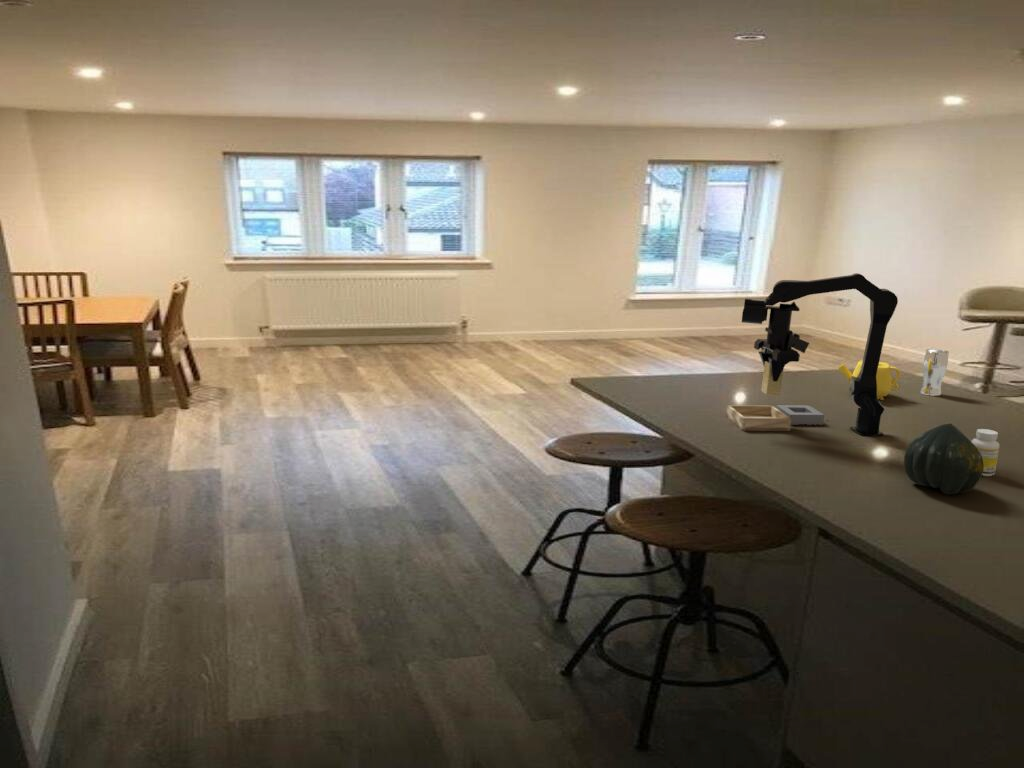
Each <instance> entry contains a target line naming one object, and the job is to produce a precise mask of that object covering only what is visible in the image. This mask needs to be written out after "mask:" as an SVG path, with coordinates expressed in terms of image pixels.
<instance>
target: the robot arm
mask: <svg viewBox="0 0 1024 768" xmlns="http://www.w3.org/2000/svg"><path fill="white" fill-rule="evenodd" d="M849 290H856V291H858V292H859V293H861V294H862V295H863V296H865V297H866V298H867V299H869V314H870V317H869V318H870V325H869V328H868V334H867V338H866V344H865V348H864V351H863V352H864V353H863V358H862V361H863V362H862V366H861V371H860V373H859V375H858V376H857V377H854V376H852V383H851V382H850V386H849V388H848V390H849V393H850V395H851V396H850V397H851V398H852V400H853V401H854V403H855V405H857V406H858V407H857V413H856V419H855V426H849V429H850V430H851V431H853V432H855V433H857V434H858V435H860V436H884V432H882V431H880V424H881V418H882V415H883V413H884V411H885V407H884V406H883V405H882V403H881V400H878V399H877V380H876V374H877V369H878V365H879V362H880V359H881V354H882V350H883V345H884V340H885V336H886V332H887V328H888V324H889V322H890V320H891V319H892V317H893V315H894V314H895V311H896V308H897V306H898V303H899V299H898V295H896V293H894V292H893V291H891V290H889V289H888V288H880V287H878V286H877V285H876V284H874V283H873V282H871V281H869V280H868V279H867V278H866V277H865V276H864V275H862V274H861V273H853V274H849V275H840V276H834V277H828V278H825V277H824V278H820V279H818V278H817V279H812V280H811V279H810V280H799V279H798V280H796V279H782V280H779V281H777V282H775V284H774V285H773V287H772V292H771V293H770V294H769V295H768V296H766V298H765V299H764V300H761V299H760V300H759V299H752V298H745V299H744V302H743V303H744V304H743V305H744V306H743V308H742V315H741V323H743V324H744V323H745V324H754V325H762V324H763V322H767V319H768V326H766V327H765V329H764V331H765V332H767V335H766V338H765V339H764V338H757V340H755V341H754V346H753V349H755V350H757V351H758V350H760V349H761V351H758V355H759V357H760V359H761V362H762V365H763V366H764V365H765V361H769V363H770V368H771V374H772V378H773V381H778V379H779V377H780V374H781V372H782V370H783V368H784V369H785V366H786V365H788V364H789V363H791V362H793V363H794V362H796V363H797V362H800V356H801V354H800V353H799V352H801V353H803V354H805V353H806V351H807V349H808V348H809V347H808V346H809V345H810V342H808V341H806V340H804V339H801V338H800V337H801V336H800V334H798V333H795V332H793V330H792V329H790V328H791V322H792V315H793V312H800V307H799V306H798V305H797V304H796V302H795V300H798V299H802V298H804V297H807V296H810V295H812V296H813V295H818V294H819V295H820V294H826V293H827V294H828V293H833V292H841V291H849ZM792 301H793V302H792ZM789 302H791V303H789ZM777 304H779V305H778V306H775V305H777ZM768 310H769V311H768ZM768 312H769V317H768ZM798 351H799V352H798ZM783 371H784V370H783Z"/></svg>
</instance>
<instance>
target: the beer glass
mask: <svg viewBox="0 0 1024 768" xmlns="http://www.w3.org/2000/svg"><path fill="white" fill-rule="evenodd" d="M925 351H926V352H925V355H924V358H923V366H922V369H923V370H922V372H923V373H922V374H923V381H922V386H921V388H920V394H921V395H924V396H925V395H926V396H929V395H930V397H940V396H941V395H942V382H943V380H944V377H945V374H946V371H947V369H948V365H949V363H948V362H949V351H948V350H944V349H938V348H937V349H933V348H931V349H930V348H929V349H928V348H927V349H925Z"/></svg>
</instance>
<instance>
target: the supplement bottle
mask: <svg viewBox="0 0 1024 768" xmlns="http://www.w3.org/2000/svg"><path fill="white" fill-rule="evenodd" d="M975 432H976V433H975V436H976V437H974V438H973V439H972V440H970V441H971V442H972V443H973V444H974V445H975V446H976V448H977V449H978V451H979V452H980V454H981V456H982V458H983V465H984V468H983V473H982V475H983V476H982V477H992V475H993V476H994V475H995V474H996V468H997V464H998V463H997V462H998V457H999V450H1000V446H1001V445H1000V443H999V442H998V441H997V440H998V435H999V432H997V431H995V430H992V429H987V428H978V429H976V431H975Z"/></svg>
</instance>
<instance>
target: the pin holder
mask: <svg viewBox="0 0 1024 768" xmlns="http://www.w3.org/2000/svg"><path fill="white" fill-rule="evenodd" d="M775 408H776V409H778V410H779V411H781V412H782V413H784V414H785V415H787V416H788V417H790V418H791V426H792V425H793V426H794V425H795V426H796V425H797V426H799V424H807V426H811V425H812V424H814V425H812V426H817V425H816V424H821V425H820V426H823V425H824V420H825V414H824V413H822V412H820V411H819V410H817V409H815V408H814V407H812V406H810V405H802V404H801V405H793V404H792V405H790V404H789V405H786V404H785V405H779V404H778V405H775Z"/></svg>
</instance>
